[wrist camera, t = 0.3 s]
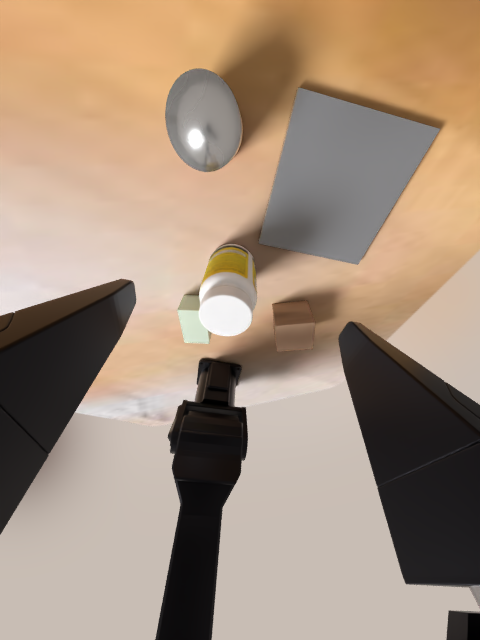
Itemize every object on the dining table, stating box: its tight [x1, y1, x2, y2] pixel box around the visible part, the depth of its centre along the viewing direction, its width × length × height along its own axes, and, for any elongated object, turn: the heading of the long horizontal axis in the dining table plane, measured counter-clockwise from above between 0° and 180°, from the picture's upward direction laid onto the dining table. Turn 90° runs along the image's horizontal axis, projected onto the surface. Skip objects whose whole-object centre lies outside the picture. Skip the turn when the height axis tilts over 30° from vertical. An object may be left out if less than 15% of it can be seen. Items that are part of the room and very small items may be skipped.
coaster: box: [258, 88, 440, 265], centre depth 17 cm, size 10×10×1 cm
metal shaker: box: [165, 69, 243, 172], centre depth 13 cm, size 4×4×5 cm
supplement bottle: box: [199, 244, 257, 336], centre depth 18 cm, size 5×5×8 cm
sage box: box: [177, 295, 212, 344], centre depth 25 cm, size 5×3×3 cm, turn 179°
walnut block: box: [272, 300, 315, 352], centre depth 24 cm, size 4×4×4 cm
